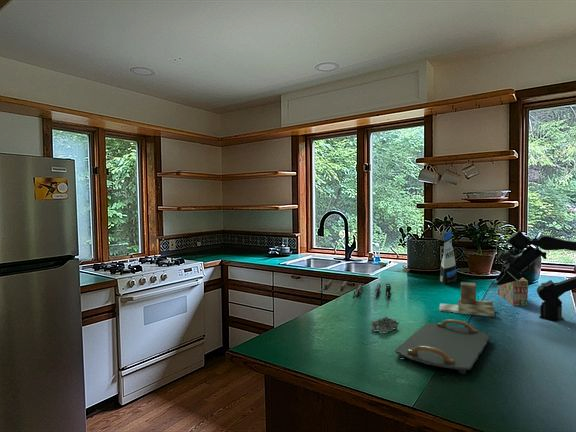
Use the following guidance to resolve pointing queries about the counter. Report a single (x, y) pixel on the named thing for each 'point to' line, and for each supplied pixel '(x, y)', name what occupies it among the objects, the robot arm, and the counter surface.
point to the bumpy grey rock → (384, 324)
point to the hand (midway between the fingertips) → (496, 282)
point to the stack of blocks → (515, 292)
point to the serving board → (445, 345)
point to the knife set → (358, 291)
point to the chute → (470, 308)
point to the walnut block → (468, 293)
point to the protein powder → (448, 261)
